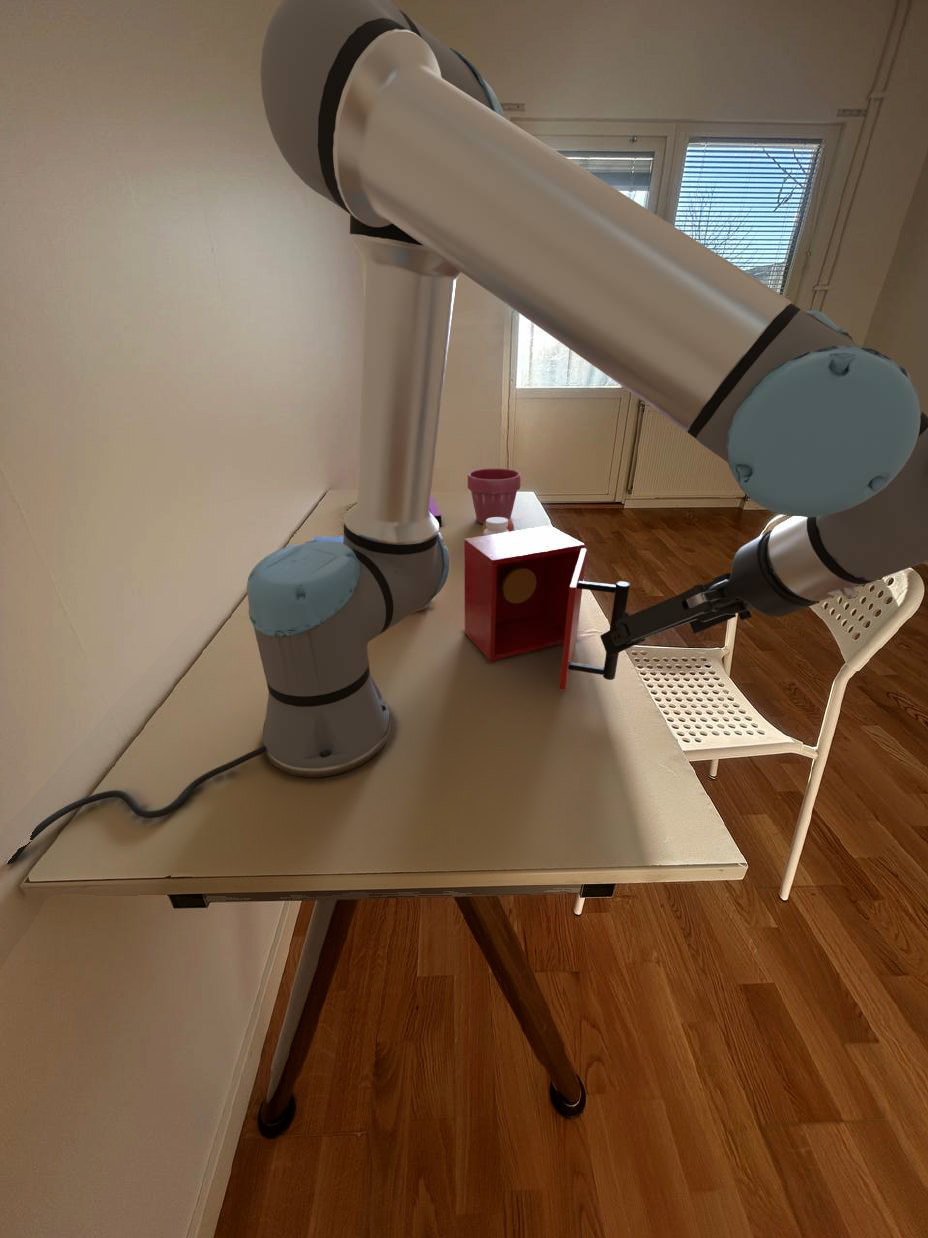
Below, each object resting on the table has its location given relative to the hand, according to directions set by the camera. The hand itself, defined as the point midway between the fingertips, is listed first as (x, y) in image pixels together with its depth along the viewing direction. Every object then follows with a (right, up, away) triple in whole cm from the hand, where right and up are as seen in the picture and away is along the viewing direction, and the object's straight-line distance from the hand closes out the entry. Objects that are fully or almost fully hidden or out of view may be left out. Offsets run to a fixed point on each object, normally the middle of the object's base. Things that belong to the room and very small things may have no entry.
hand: (650, 634), depth 64 cm
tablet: (-54, +17, +55) cm, 79 cm away
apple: (-15, +19, +59) cm, 64 cm away
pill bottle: (-16, +14, +49) cm, 54 cm away
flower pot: (-15, +29, +77) cm, 84 cm away
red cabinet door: (-5, -5, +11) cm, 13 cm away
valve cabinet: (-14, -1, +21) cm, 25 cm away
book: (-42, +32, +84) cm, 99 cm away
